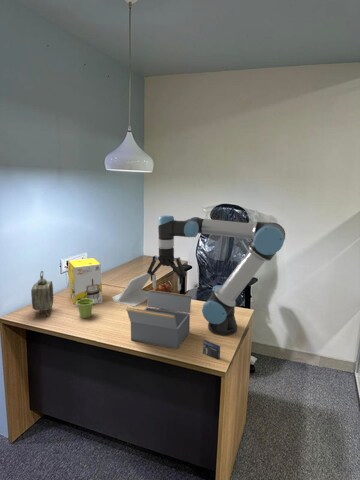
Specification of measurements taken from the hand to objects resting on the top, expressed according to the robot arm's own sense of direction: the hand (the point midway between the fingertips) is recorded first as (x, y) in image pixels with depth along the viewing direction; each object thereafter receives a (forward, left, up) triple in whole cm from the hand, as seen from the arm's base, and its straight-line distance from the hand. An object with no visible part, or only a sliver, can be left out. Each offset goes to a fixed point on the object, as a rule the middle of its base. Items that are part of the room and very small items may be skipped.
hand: (166, 288), depth 167 cm
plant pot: (+49, -1, -23) cm, 55 cm away
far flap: (0, -4, -8) cm, 9 cm away
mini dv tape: (-28, +15, -23) cm, 39 cm away
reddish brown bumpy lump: (+13, -25, -23) cm, 36 cm away
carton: (0, +6, -23) cm, 24 cm away
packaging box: (+63, -21, -23) cm, 71 cm away
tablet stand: (+37, -36, -23) cm, 57 cm away
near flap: (0, +17, -8) cm, 19 cm away
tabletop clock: (+74, +4, -23) cm, 78 cm away
